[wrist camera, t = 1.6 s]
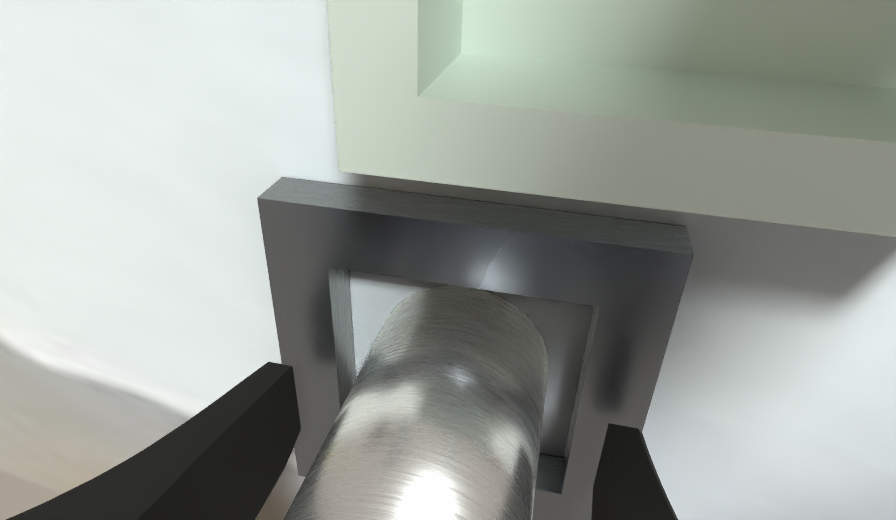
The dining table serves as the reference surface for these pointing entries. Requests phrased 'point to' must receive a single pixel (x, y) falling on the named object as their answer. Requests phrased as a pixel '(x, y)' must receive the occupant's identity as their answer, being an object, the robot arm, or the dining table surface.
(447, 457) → the shiny metal cylinder
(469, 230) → the grey square frame
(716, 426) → the dining table surface
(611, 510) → the robot arm
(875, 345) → the dining table surface
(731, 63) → the bin
